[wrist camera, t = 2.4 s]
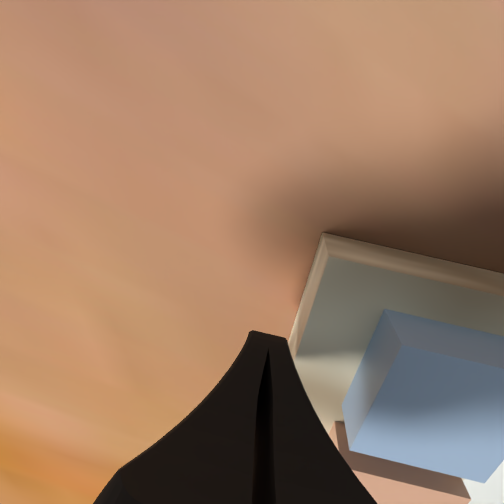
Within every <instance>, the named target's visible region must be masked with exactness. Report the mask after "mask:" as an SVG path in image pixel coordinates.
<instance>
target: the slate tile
mask: <svg viewBox="0 0 504 504" xmlns="http://www.w3.org/2000/svg"><path fill="white" fill-rule="evenodd" d="M342 411H343V416H344V422H345V428H346V433H347V439H348V445H349V450H350V451H354V452H358V453H362V454H366V455H370V456H374V457H378V458H383V459H387V460H391V461H395V462H399V463H403V464H407V465H411V466H415V467H419V468H423V469H427V470H432V471H436V472H440V473H444V474H448V475H452V476H456V477H460V478H464V479H468V480H472V481H476V482H480V483H485V482H486V481H487V480H488V479H489V477H490V476H491V475H492V474H493V473H494V471H495V470H496V469H497V468H498V466H499V465H500V464H501V463H502V462H503V460H504V336H500V335H496V334H491V333H487V332H483V331H478V330H474V329H470V328H466V327H461V326H457V325H453V324H448V323H444V322H440V321H436V320H431V319H427V318H423V317H418V316H414V315H410V314H405V313H401V312H397V311H393V310H388V309H384V310H383V313H382V315H381V317H380V320H379V322H378V324H377V326H376V329H375V331H374V333H373V335H372V338H371V340H370V342H369V344H368V347H367V349H366V351H365V353H364V356H363V358H362V360H361V362H360V365H359V367H358V369H357V371H356V374H355V376H354V378H353V380H352V383H351V385H350V387H349V389H348V392H347V394H346V396H345V399H344V401H343V403H342Z"/></svg>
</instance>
